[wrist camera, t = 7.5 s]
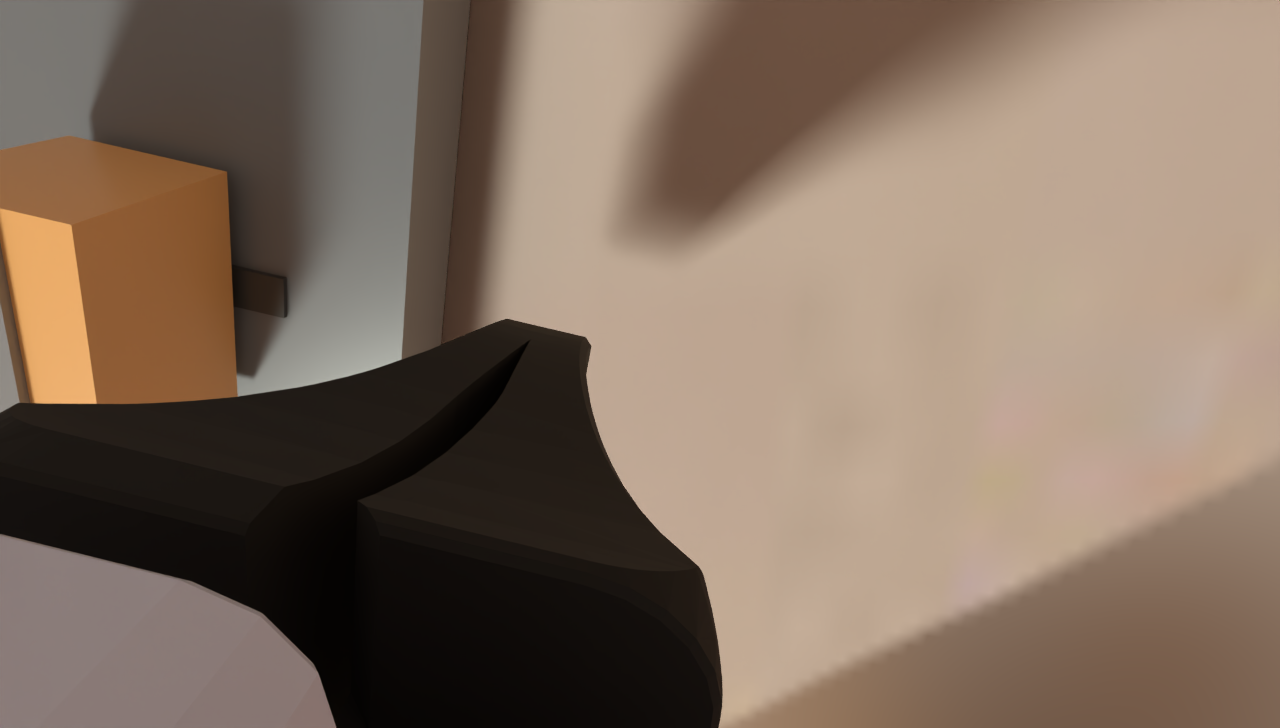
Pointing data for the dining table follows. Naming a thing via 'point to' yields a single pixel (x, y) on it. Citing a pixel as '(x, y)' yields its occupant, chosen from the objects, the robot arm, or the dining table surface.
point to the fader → (113, 277)
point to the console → (276, 151)
